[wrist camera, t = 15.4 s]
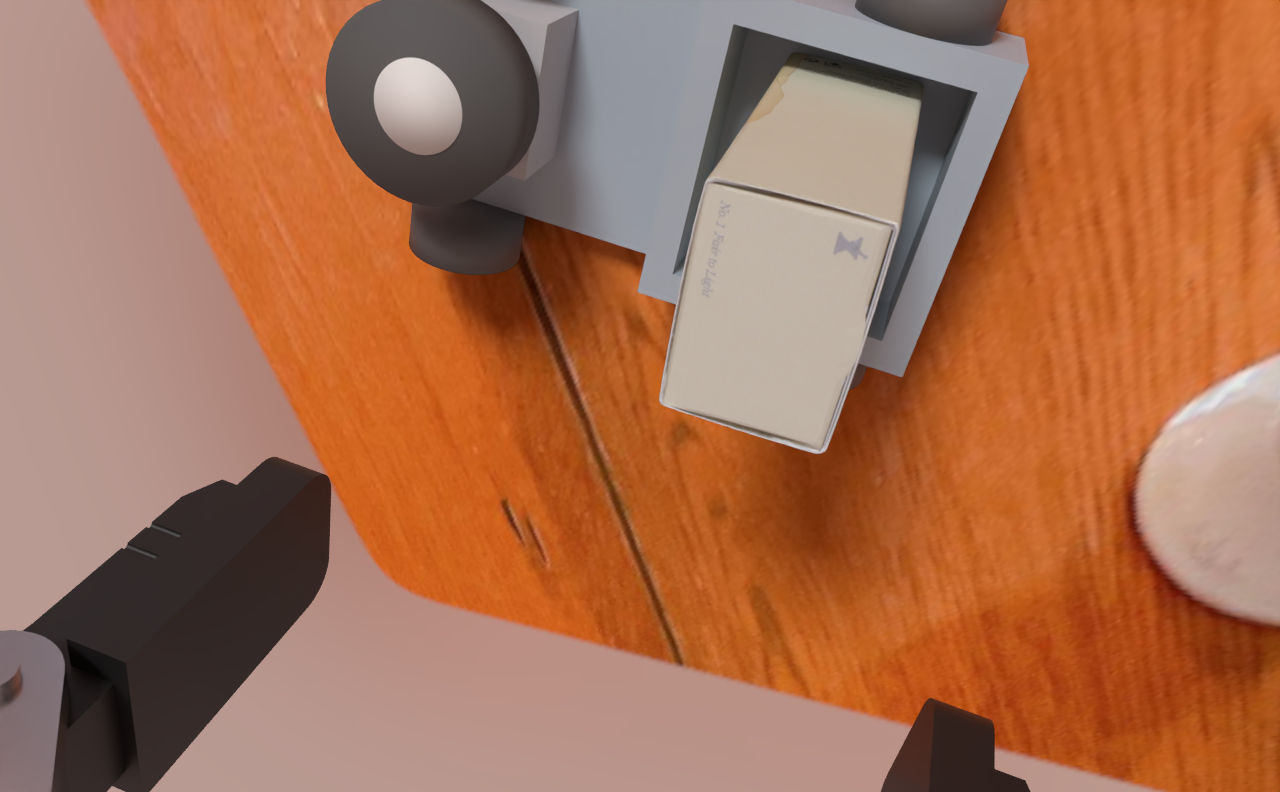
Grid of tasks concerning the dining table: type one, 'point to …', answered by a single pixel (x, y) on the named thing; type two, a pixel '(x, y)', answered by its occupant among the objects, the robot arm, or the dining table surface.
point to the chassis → (729, 130)
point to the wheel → (432, 97)
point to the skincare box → (793, 253)
